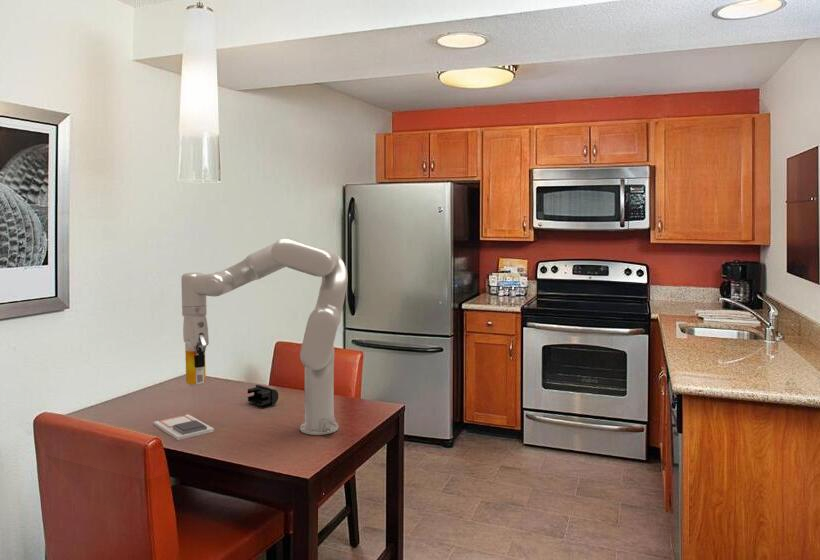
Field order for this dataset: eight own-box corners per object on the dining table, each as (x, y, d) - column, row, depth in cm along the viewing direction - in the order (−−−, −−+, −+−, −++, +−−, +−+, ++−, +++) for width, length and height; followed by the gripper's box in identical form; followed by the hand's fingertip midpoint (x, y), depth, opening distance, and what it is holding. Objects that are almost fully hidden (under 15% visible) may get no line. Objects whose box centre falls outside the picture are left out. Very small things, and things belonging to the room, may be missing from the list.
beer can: (198, 381, 206) (197, 336, 204) (209, 383, 202) (208, 339, 201) (182, 384, 201) (181, 339, 199) (193, 387, 197) (192, 341, 196)
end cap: (278, 405, 230) (278, 387, 229) (263, 409, 224) (263, 391, 224) (262, 400, 236) (262, 383, 236) (247, 404, 231) (246, 386, 230)
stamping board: (214, 431, 200) (213, 424, 200) (177, 440, 192) (177, 433, 192) (188, 417, 215) (188, 410, 215) (153, 424, 207) (153, 417, 207)
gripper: (216, 312, 195) (217, 368, 197) (195, 306, 208) (196, 359, 210) (193, 315, 190) (194, 371, 192) (172, 308, 203) (174, 362, 205)
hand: (195, 364), depth 201 cm, fingers closed on beer can, 6 cm apart
